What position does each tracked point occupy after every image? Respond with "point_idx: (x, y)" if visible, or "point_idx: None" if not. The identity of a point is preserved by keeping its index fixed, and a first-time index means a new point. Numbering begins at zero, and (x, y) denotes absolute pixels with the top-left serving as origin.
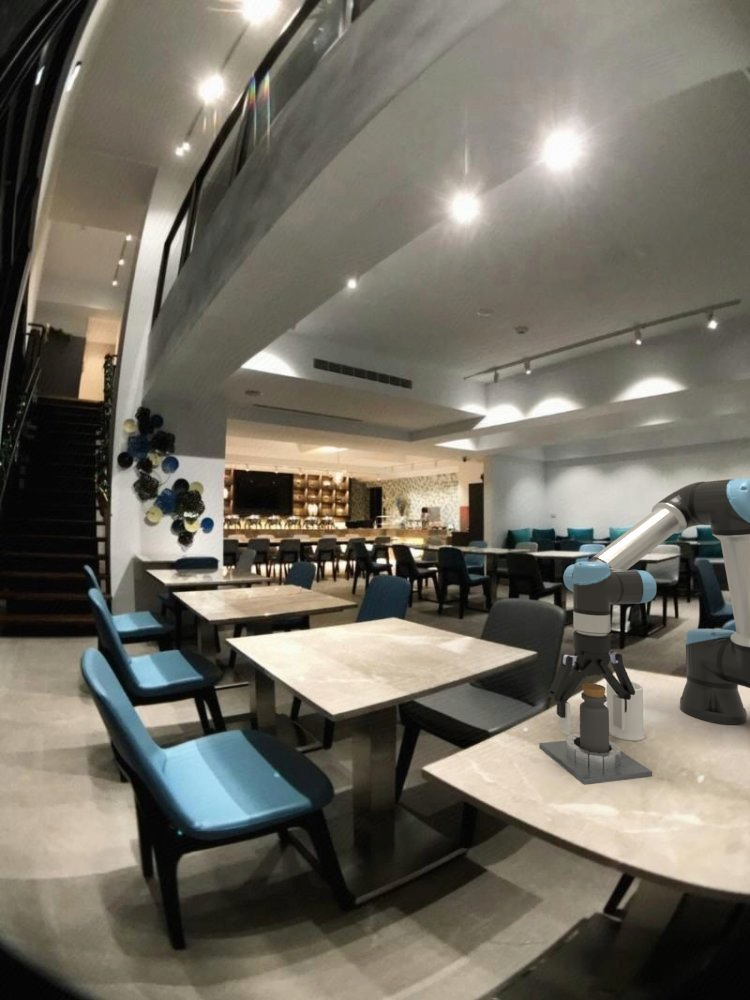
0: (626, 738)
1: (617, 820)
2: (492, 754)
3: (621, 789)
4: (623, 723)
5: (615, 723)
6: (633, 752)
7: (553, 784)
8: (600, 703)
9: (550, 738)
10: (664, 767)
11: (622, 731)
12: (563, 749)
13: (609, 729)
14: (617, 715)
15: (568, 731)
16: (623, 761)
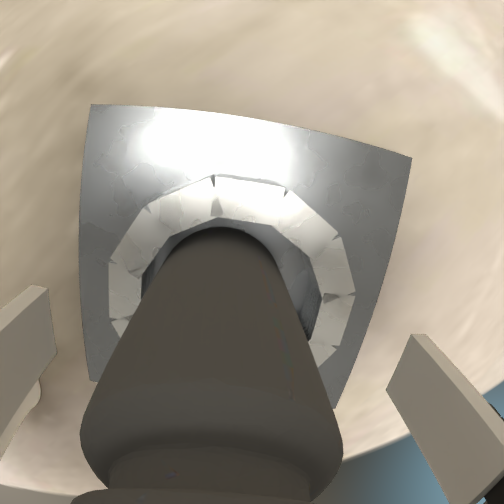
0: None
1: (438, 2)
2: None
3: (303, 73)
4: (18, 302)
5: (47, 345)
6: (32, 274)
7: (472, 203)
8: (212, 491)
9: None
10: (14, 153)
11: None
12: None
13: (33, 393)
14: (17, 361)
15: (428, 343)
16: (133, 205)
